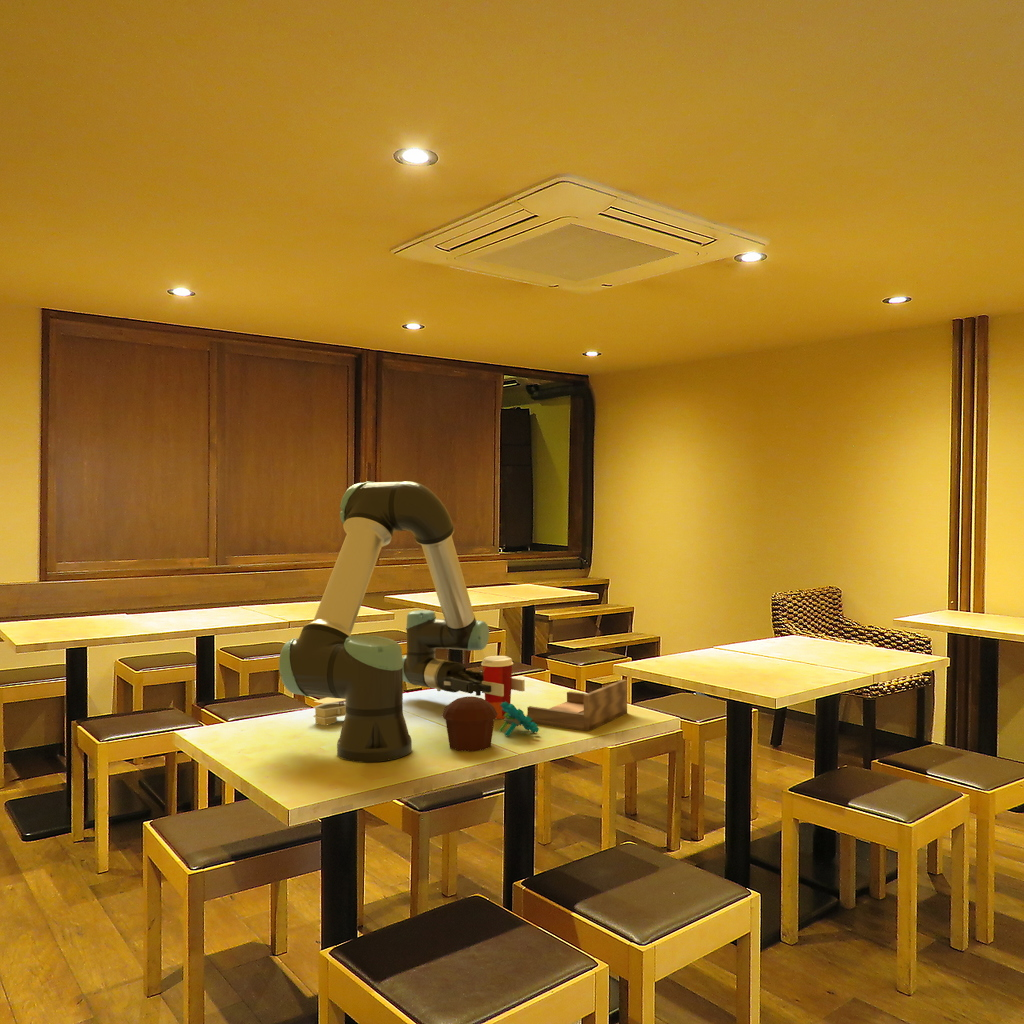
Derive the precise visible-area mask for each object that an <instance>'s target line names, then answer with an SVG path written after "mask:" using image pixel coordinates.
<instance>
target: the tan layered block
mask: <svg viewBox="0 0 1024 1024" xmlns="http://www.w3.org/2000/svg"><path fill="white" fill-rule="evenodd" d="M313 702H315V703H320V704H319V705H316V706H313V709H315V711H314V712H315V713H314V715H313V718H315V720H314V721H315V724H316V723H318V724H317V725H320V724H323V725H322V726H328V725H327V724H329V725H332V724H331V723H333V724H335V723H334V722H336V723H337V721H338V718H340V717H345V715H346V704H345V703H344V702H345V699H341V698H329V697H322V698H320V699H317V700H314V701H313Z"/></svg>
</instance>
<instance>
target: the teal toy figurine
mask: <svg viewBox="0 0 1024 1024" xmlns="http://www.w3.org/2000/svg"><path fill="white" fill-rule="evenodd" d="M501 707H502V708H503V709H502V710H503V711H504V712H506V713H505V715H504V717H505V719H503V721H504V722H503V724H502V725H501V727H500V728H499V729H498V730H499V731H500V733H501V732H503V731H504V730H505V728H506V727H507V725H509V727H508V728H507V730H506V732H505V733H504V735H505V736H506V737H509V736H510V735H511V734H512V733H513V731H514V730H515V729H516V727H518V726H521V725H522V727H523V728H524V730H526V731H530V732H532V733H533V734H535V733H538V732H539V731H540V728H539V727H538V725H539V724H536V723H535V722H531V720H532V719H531V718H530V717H529V716H528V715H525V714H524V711H523V710H522V709H521V708H517V707H516V706H515V705H514V703H510V705H509V704H508V703H507V702H506V701H505V702H502V704H501Z"/></svg>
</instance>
